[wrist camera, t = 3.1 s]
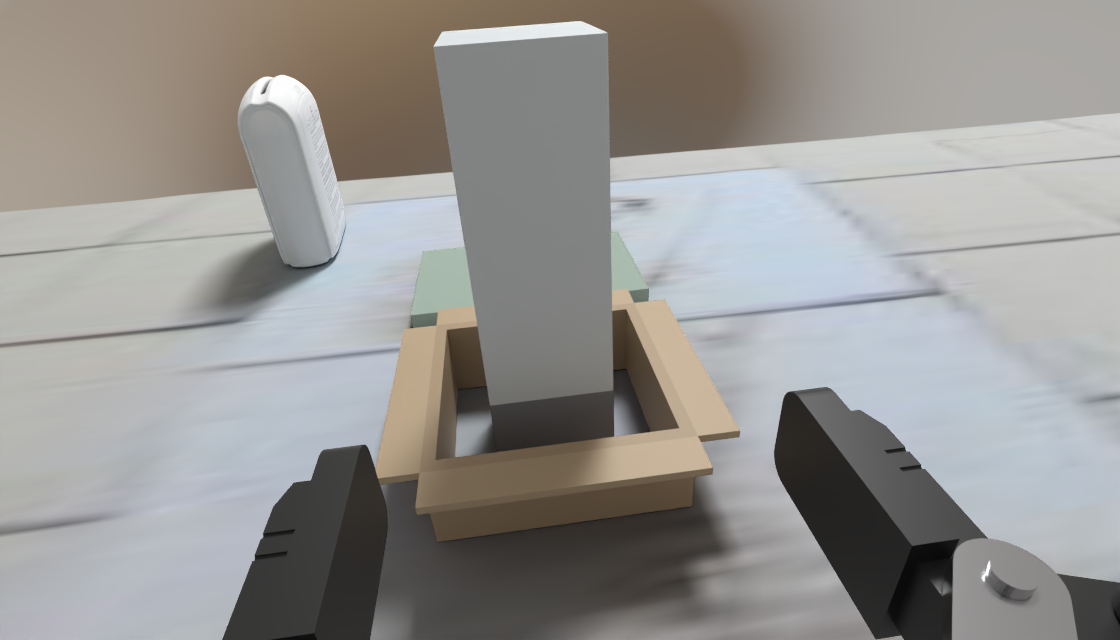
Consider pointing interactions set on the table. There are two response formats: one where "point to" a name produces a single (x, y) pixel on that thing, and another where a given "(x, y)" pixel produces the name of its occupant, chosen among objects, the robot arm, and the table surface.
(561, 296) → the box
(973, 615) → the robot arm
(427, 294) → the rubber mat
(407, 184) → the table surface
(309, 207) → the photo printer
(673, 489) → the open carton
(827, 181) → the table surface
